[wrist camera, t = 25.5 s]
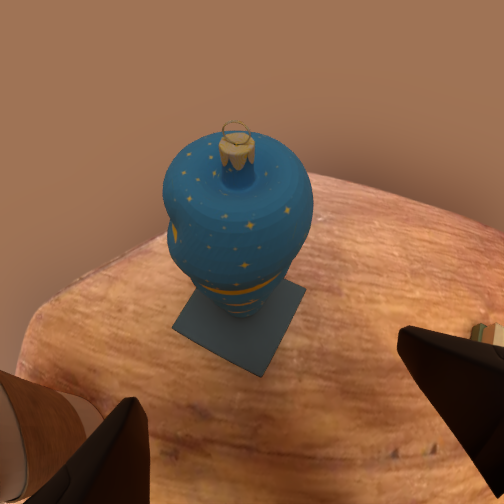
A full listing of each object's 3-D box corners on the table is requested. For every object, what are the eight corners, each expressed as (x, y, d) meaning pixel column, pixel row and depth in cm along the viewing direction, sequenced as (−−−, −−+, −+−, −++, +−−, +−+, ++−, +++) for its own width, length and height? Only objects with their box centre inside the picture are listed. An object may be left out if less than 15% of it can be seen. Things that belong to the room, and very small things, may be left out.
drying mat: (261, 377, 18) (261, 377, 17) (173, 329, 20) (171, 327, 19) (305, 291, 21) (306, 288, 20) (222, 252, 22) (221, 248, 22)
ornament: (218, 266, 21) (177, 71, 8) (288, 281, 21) (336, 87, 7) (198, 333, 19) (87, 184, 6) (273, 352, 18) (327, 225, 5)
